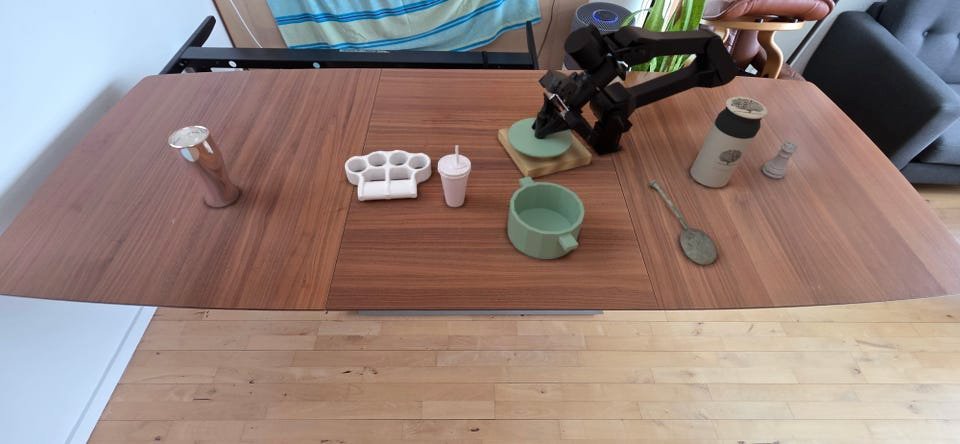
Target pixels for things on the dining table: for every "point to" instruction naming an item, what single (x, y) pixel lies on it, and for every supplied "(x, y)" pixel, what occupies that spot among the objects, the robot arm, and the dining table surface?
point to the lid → (542, 147)
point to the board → (544, 166)
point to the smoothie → (454, 177)
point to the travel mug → (728, 141)
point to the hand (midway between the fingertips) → (534, 132)
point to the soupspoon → (692, 237)
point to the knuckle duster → (388, 174)
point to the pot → (544, 219)
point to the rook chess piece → (780, 161)
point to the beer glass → (204, 164)
